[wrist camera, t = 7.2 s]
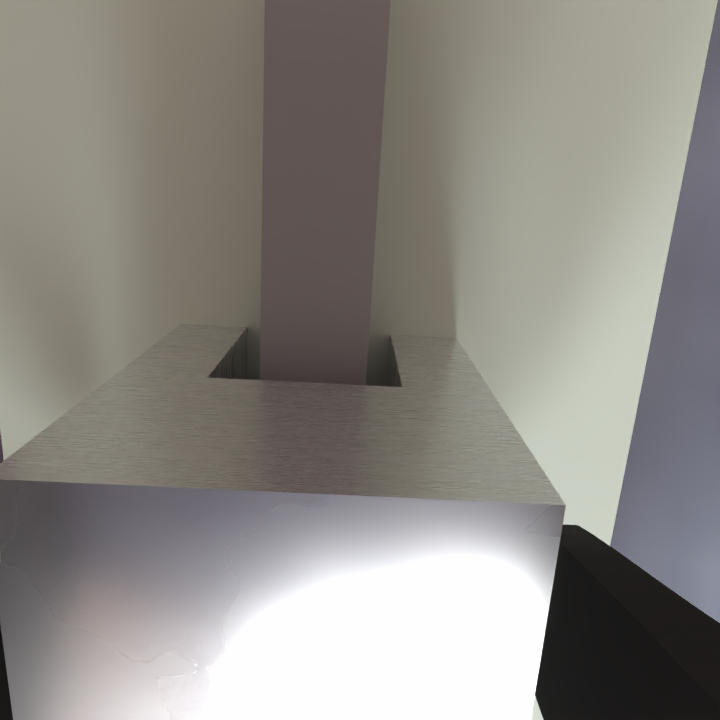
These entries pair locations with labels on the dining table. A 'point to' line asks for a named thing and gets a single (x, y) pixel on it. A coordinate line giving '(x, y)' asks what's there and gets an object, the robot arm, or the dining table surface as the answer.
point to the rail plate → (458, 203)
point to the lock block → (277, 545)
